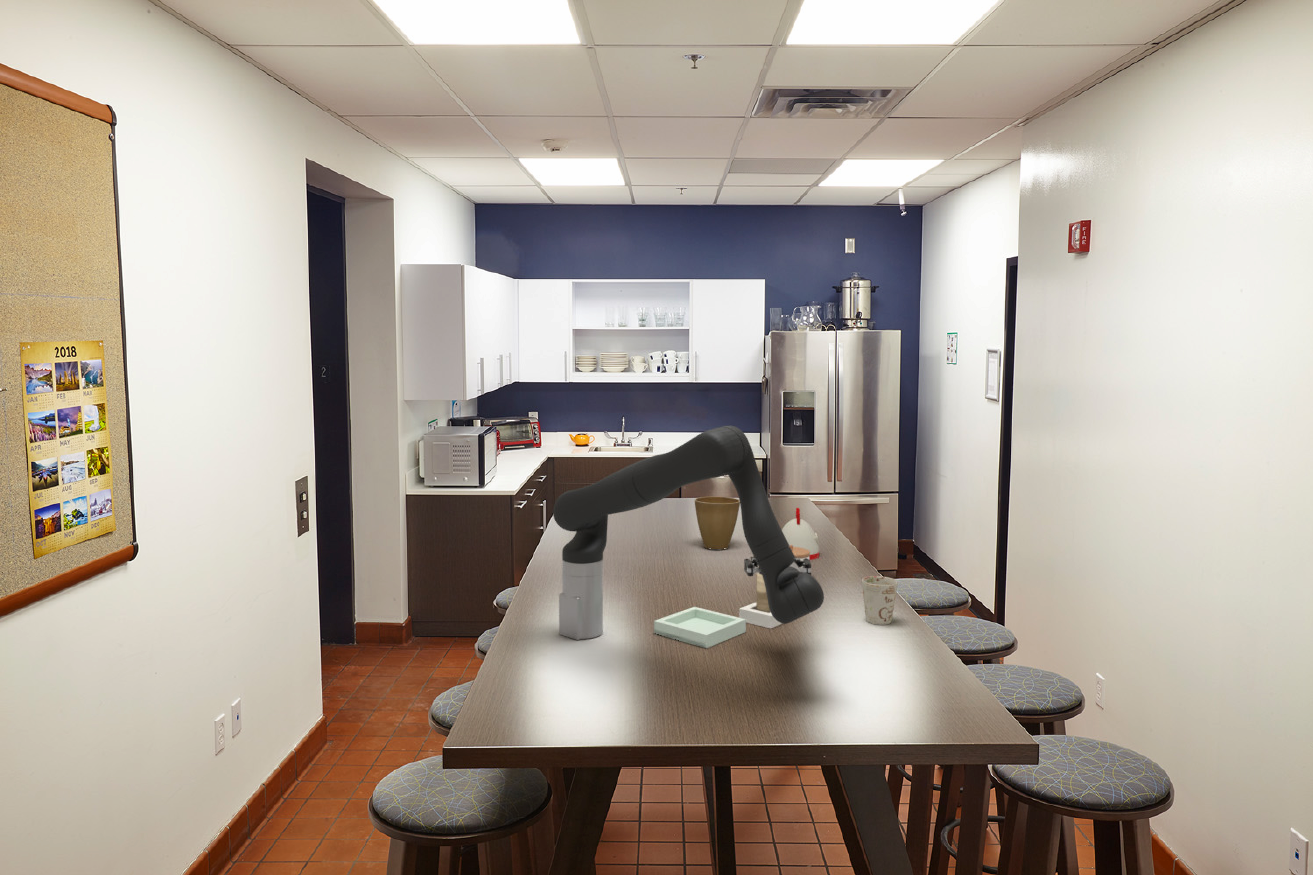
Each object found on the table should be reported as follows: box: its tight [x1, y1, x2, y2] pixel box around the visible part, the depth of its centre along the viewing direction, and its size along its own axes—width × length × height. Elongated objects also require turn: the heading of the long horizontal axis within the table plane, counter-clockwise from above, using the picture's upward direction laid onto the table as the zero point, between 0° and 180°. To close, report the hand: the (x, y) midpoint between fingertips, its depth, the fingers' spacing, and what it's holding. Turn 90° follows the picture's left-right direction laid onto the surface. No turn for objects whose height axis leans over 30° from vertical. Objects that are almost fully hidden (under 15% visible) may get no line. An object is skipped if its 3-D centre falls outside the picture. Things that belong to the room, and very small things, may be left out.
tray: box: [653, 606, 747, 649], centre depth 203 cm, size 15×15×3 cm
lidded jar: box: [789, 545, 810, 561], centre depth 253 cm, size 11×11×9 cm
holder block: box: [738, 601, 783, 629], centre depth 213 cm, size 9×9×3 cm
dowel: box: [755, 572, 770, 613], centre depth 212 cm, size 4×4×15 cm
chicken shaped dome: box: [781, 507, 820, 561], centre depth 280 cm, size 14×14×15 cm
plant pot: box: [694, 496, 741, 550], centre depth 289 cm, size 15×15×16 cm
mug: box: [861, 575, 899, 626], centre depth 215 cm, size 8×13×10 cm, turn 15°
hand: (773, 559), depth 200 cm, fingers open, 8 cm apart
